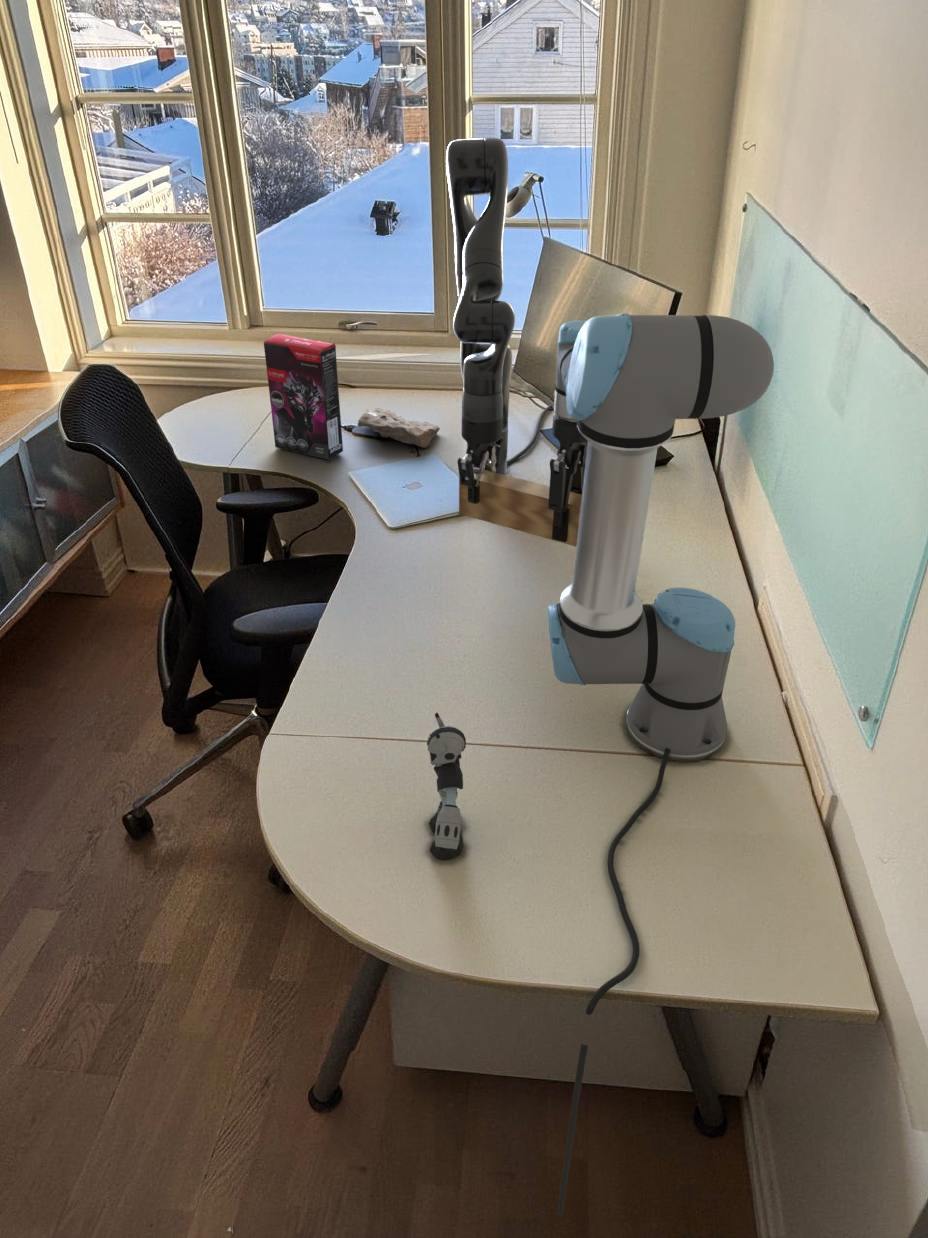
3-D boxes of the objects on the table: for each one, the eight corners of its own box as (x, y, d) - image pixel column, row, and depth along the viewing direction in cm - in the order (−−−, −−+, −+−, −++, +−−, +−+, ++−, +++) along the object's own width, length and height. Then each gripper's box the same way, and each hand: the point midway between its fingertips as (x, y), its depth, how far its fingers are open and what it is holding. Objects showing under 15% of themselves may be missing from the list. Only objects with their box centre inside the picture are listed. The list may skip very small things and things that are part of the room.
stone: (342, 431, 232) (346, 408, 230) (364, 423, 246) (368, 401, 243) (419, 455, 229) (424, 432, 226) (437, 445, 242) (442, 423, 240)
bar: (586, 536, 173) (590, 496, 168) (576, 546, 169) (579, 506, 165) (471, 504, 183) (471, 466, 178) (458, 513, 180) (459, 475, 175)
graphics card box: (273, 448, 231) (260, 339, 216) (289, 438, 236) (278, 332, 221) (329, 461, 225) (320, 351, 210) (345, 451, 230) (337, 342, 215)
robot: (468, 894, 116) (470, 778, 105) (429, 895, 116) (427, 779, 105) (461, 784, 133) (462, 674, 121) (427, 785, 132) (425, 675, 121)
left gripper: (483, 396, 175) (481, 478, 185) (444, 421, 165) (444, 506, 174) (518, 404, 172) (514, 487, 181) (480, 430, 162) (478, 516, 171)
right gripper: (576, 394, 167) (567, 509, 180) (532, 427, 154) (526, 548, 167) (615, 402, 164) (603, 519, 177) (573, 436, 151) (563, 559, 164)
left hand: (480, 496), depth 178 cm, fingers closed on bar, 4 cm apart
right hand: (565, 533), depth 172 cm, fingers closed on bar, 5 cm apart
